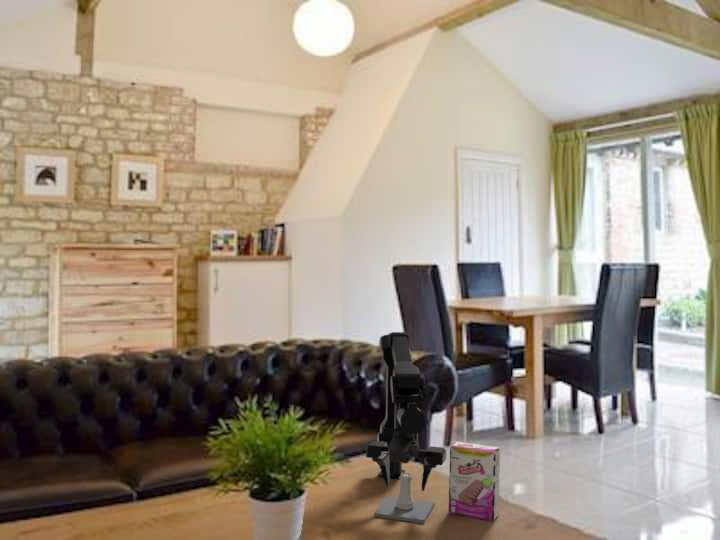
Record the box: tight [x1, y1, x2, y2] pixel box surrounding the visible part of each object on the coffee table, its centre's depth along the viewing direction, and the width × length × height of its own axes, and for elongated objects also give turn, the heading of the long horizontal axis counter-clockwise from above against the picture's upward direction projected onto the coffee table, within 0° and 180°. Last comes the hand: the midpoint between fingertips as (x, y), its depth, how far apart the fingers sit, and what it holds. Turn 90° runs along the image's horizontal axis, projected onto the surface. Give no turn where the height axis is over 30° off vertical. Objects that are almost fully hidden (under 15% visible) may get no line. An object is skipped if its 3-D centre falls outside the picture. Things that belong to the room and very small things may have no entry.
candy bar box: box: [448, 440, 501, 522], centre depth 149 cm, size 11×5×16 cm, turn 65°
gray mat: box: [373, 495, 435, 524], centre depth 151 cm, size 12×12×1 cm
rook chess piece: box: [396, 471, 414, 510], centre depth 151 cm, size 4×4×8 cm
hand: (405, 488), depth 151 cm, fingers open, 8 cm apart
